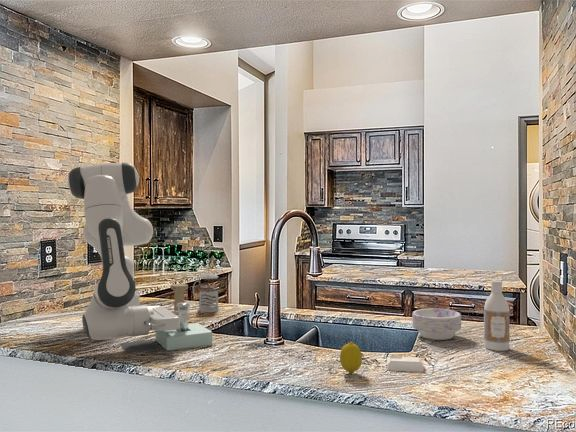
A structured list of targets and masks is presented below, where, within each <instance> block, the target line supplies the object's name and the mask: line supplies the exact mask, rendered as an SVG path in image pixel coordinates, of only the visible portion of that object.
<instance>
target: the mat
mask: <svg viewBox="0 0 576 432" xmlns="http://www.w3.org/2000/svg"><path fill="white" fill-rule="evenodd" d="M118 344H119V346H120V347H121V348H122V350H123V351H124V352H125V353H126V354H132V353H139V352H145V351H152V350H153V351H154V350H161V349H162V348H161V347H160V346H159V345H158V344H157V343H156V342H155V341H154V340H153V339H152V338H151V339H143V340H135V341H127V342H120V343H118Z"/></svg>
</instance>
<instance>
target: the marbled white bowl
mask: <svg viewBox="0 0 576 432" xmlns="http://www.w3.org/2000/svg"><path fill="white" fill-rule="evenodd" d="M411 314H412V316H411V317H412V319H411V322H412V328H413V329H415V330H417V331H418V333H419V335H420V336H421V337H422V338H424V339H427V340H433V341H446V340H450V339H452V338H454V336H455V334H456V332H459V331H461V329H462V314H461V313H460V312H458V311H455V310H453V309H447V308H422V309H421V308H420V309H416V310H414V311H412V313H411Z"/></svg>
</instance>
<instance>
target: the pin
mask: <svg viewBox="0 0 576 432" xmlns="http://www.w3.org/2000/svg"><path fill="white" fill-rule="evenodd" d="M190 306H191V303H190V302H184V303H177V307H178V315H182V314H188V315H189V307H190ZM188 324H189V320H185V321H182V322H180V328H179V329H178V332H184V331H188Z"/></svg>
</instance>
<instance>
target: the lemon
mask: <svg viewBox="0 0 576 432" xmlns="http://www.w3.org/2000/svg"><path fill="white" fill-rule="evenodd" d="M339 362H340V366H341V367H342V369H344V370H345V371H347V372H348V373H349V374H353V373H354V372H356V371H358V370H359V369H360V368H361V366H362V362H363V355H362V350H361V349H360V347H359V346H358V345H357V344H355V343H354V342H353V341H349V342H348V343H346V344H344V345H343V346H342V347H341V349H340V354H339Z"/></svg>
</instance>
